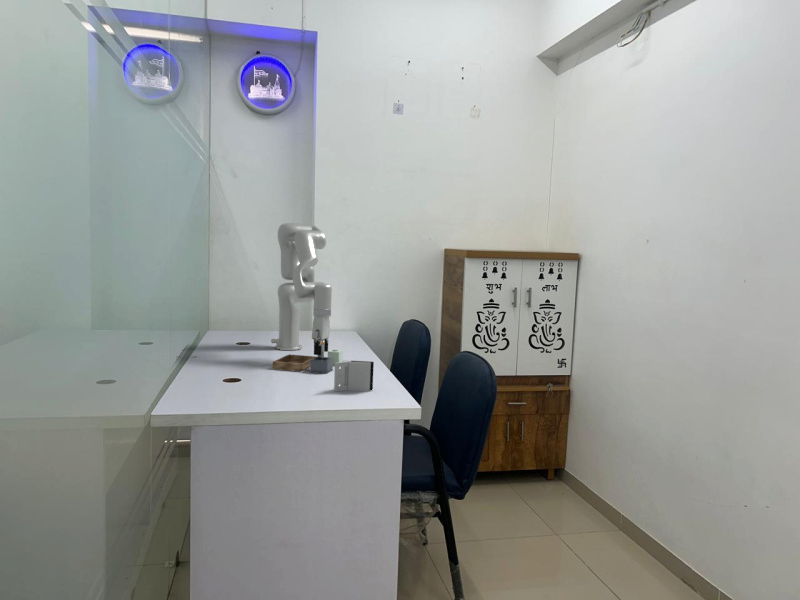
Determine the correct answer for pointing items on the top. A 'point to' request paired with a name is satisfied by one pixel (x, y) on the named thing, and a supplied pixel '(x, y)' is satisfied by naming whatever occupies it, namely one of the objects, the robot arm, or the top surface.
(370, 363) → the hinge
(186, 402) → the top surface
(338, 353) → the pale green block
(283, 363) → the tray
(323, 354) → the cylinder
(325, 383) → the top surface
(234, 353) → the top surface
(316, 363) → the block
